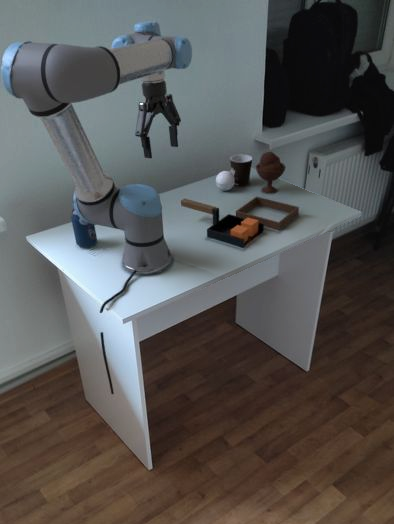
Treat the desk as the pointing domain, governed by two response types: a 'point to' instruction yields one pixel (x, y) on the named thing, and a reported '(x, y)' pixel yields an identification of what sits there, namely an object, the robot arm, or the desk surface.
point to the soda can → (83, 232)
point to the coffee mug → (241, 169)
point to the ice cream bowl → (270, 170)
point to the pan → (222, 224)
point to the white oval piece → (225, 180)
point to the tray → (273, 205)
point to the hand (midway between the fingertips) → (161, 152)
